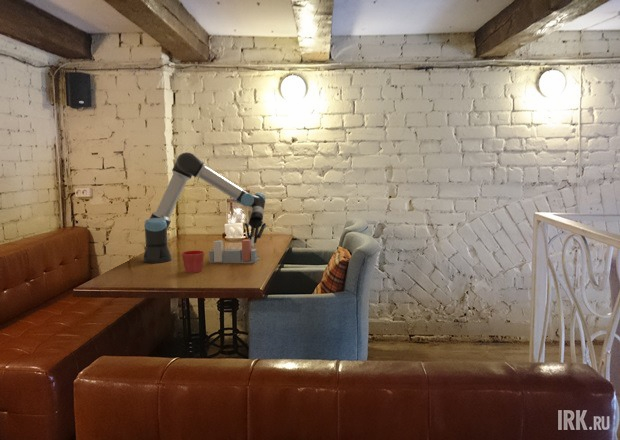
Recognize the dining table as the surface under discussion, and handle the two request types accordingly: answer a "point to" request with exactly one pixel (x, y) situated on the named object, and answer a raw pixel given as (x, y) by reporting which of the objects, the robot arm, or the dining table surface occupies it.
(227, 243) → the dining table surface
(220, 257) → the cream plug
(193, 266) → the flower pot
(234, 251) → the slot block
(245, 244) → the red plug
